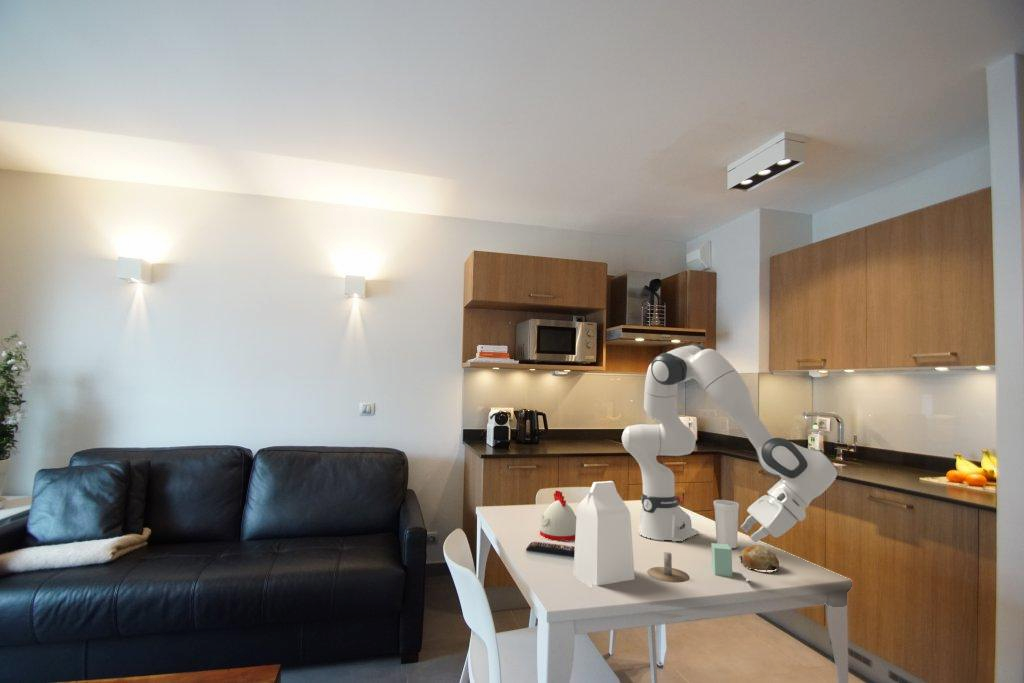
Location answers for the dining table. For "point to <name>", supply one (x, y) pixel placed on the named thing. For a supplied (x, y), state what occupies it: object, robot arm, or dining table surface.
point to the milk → (603, 537)
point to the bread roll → (759, 558)
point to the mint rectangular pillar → (721, 559)
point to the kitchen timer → (558, 520)
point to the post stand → (668, 571)
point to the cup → (726, 522)
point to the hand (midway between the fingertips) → (747, 534)
